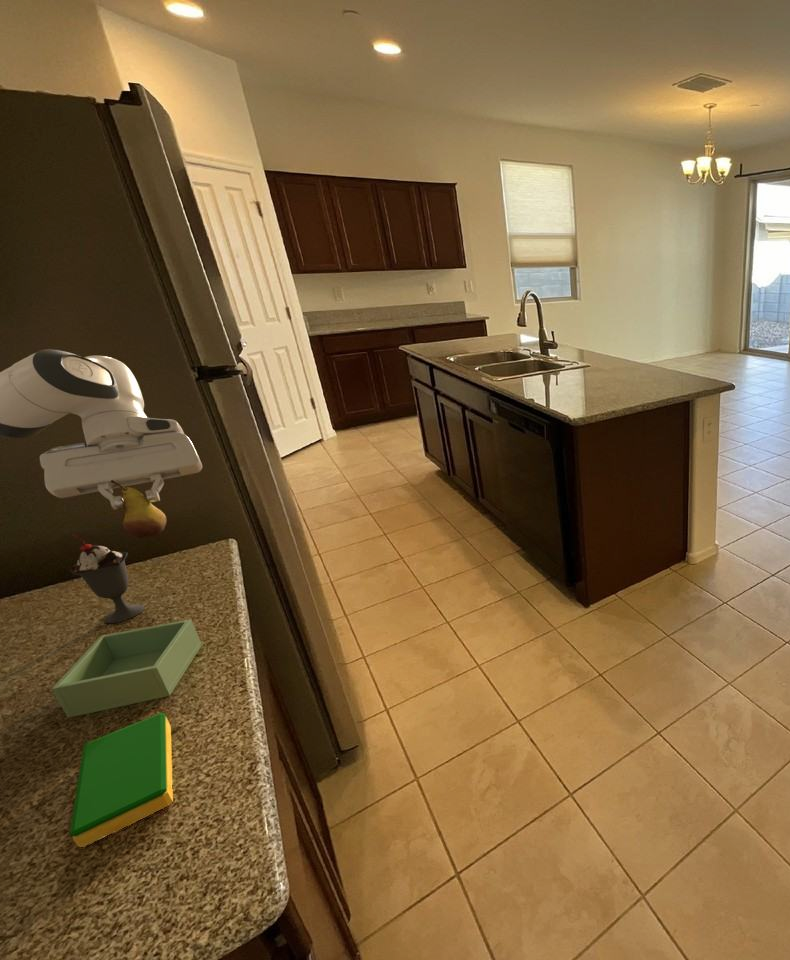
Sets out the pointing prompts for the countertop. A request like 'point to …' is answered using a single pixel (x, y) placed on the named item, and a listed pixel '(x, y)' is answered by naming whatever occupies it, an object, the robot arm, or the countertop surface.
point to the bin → (128, 668)
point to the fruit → (141, 515)
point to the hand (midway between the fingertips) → (136, 504)
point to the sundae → (106, 578)
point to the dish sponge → (123, 779)
